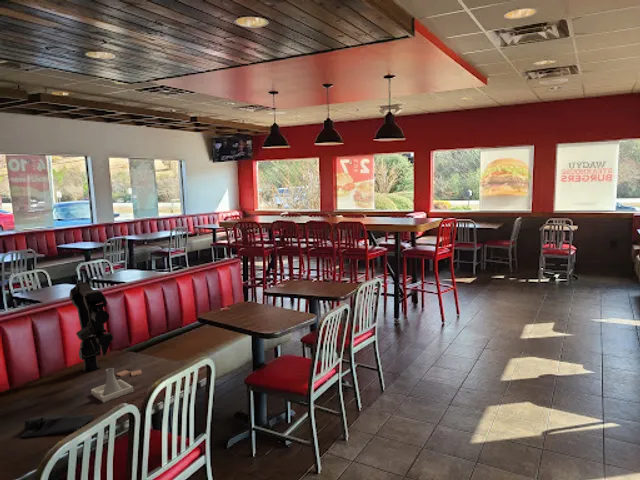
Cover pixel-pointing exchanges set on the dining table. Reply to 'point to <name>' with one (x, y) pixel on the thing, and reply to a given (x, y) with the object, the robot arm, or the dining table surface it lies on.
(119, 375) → the tile
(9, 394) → the dining table surface
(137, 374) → the tile
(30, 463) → the dining table surface
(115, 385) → the flask
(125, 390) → the tray
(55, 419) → the black crumpled cloth
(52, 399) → the dining table surface
